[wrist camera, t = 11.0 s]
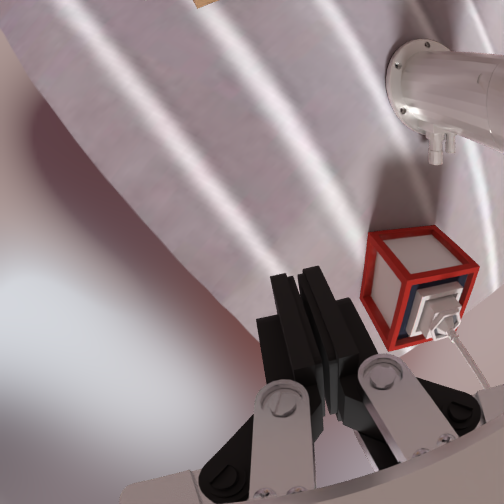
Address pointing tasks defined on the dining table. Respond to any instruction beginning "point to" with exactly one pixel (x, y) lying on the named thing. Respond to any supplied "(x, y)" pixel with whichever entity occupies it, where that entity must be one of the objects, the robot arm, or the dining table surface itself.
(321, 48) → the dining table surface
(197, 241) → the dining table surface
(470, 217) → the dining table surface
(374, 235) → the pendant light
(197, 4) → the voxel meat on bone
